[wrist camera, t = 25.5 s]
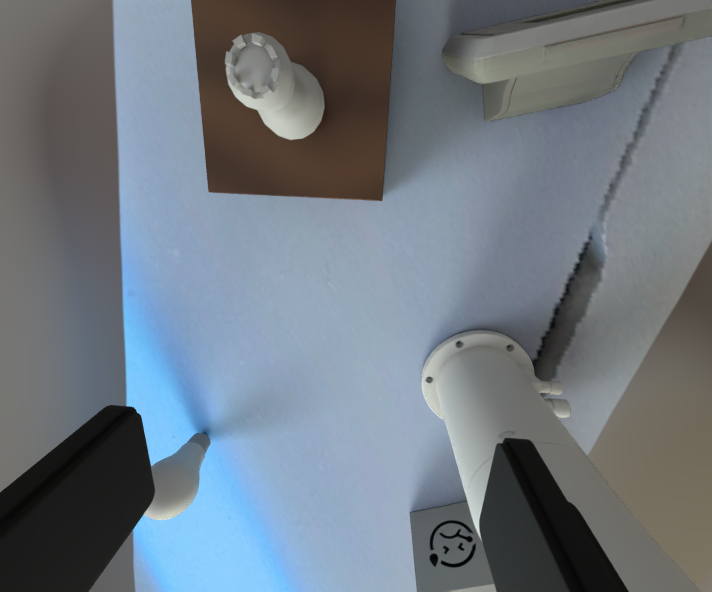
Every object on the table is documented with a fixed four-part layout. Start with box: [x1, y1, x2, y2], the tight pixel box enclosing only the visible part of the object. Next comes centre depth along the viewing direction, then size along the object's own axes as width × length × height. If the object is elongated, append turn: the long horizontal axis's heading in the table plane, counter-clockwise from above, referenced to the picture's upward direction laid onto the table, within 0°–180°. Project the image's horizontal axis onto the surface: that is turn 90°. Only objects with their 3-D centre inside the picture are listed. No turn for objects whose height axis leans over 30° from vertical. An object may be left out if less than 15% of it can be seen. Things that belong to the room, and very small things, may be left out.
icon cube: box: [410, 501, 497, 592], centre depth 43 cm, size 10×10×10 cm
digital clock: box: [442, 0, 712, 122], centre depth 24 cm, size 16×9×11 cm, turn 89°
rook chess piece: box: [225, 32, 325, 140], centre depth 19 cm, size 4×4×8 cm
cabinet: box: [191, 0, 396, 201], centre depth 27 cm, size 14×13×10 cm
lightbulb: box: [144, 433, 210, 520], centre depth 40 cm, size 6×6×11 cm
